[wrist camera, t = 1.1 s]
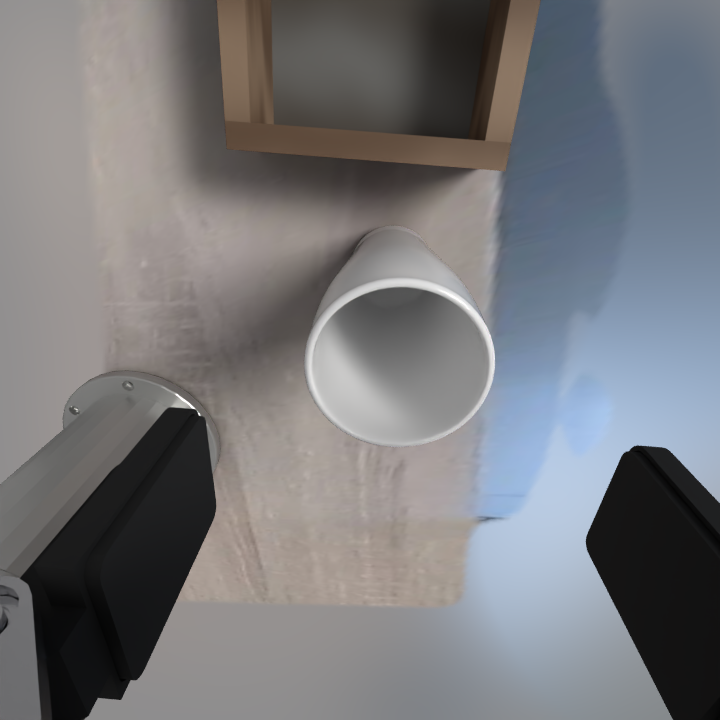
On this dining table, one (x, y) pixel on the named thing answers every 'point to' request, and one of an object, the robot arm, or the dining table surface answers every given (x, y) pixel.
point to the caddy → (376, 78)
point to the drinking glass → (398, 345)
